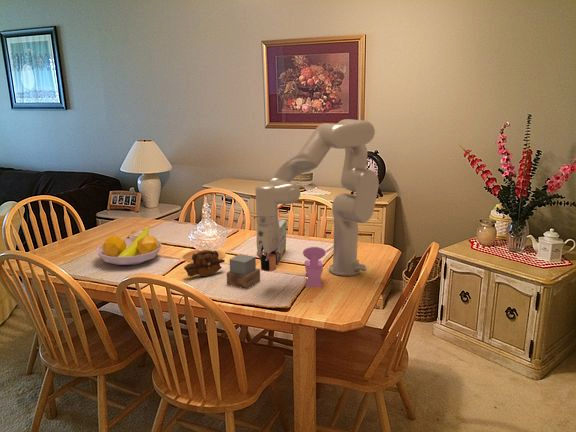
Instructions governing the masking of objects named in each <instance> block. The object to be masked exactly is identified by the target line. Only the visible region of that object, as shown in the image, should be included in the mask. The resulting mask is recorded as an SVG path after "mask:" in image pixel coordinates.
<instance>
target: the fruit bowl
mask: <svg viewBox="0 0 576 432" xmlns="http://www.w3.org/2000/svg"><path fill="white" fill-rule="evenodd" d="M149 229H150V225H147V226H146V227H145V229H144V230H143V231H141V232H140V234H139V235H138V236H137V237H131V238H130V237H129V238H127V237H126V238H123V239H122V238H121V237H120V236H118V235H116V234H113V235H110V236H108V237H107V239H105V241H104V242H103V244H102V245H99V246H97V247H96V254H97V256H99V257H100V258H101V260H103V261H104V262H105V263H109V264H112V265H117V266H122V265H123V266H125V265H127V266H128V265H130V266H131V265H132V266H133V265H136V266H137V265H140V264H143V263H145V262H147V261H150V260H151V259H154V258H156V256H157V254H159V252H160V250H161V249H162V243H161V241H160V240H158V238H157V237H155V236H154V235H149V233H150V232H149Z"/></svg>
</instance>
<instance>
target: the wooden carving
mask: <svg viewBox="0 0 576 432" xmlns="http://www.w3.org/2000/svg"><path fill="white" fill-rule="evenodd" d="M219 256H220V255H219V252H218V251H217V250H210V249H209V250H208V249H203V250H200V251H197V252H196V253H192V256H191V260H192V261H193V262H192V263H187V264H186V265H185V266H183V269H184V270H185V271H186V273H187V276H188V277H190V278H191V277H192V278H193V277H195V276H196V275H198V276H199V277H207V276H211V275H214V274H216V273H217V272H219V270H221V269H222V266H221V264H223V263H225V259H223V258H219Z"/></svg>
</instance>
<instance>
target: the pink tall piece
mask: <svg viewBox="0 0 576 432" xmlns="http://www.w3.org/2000/svg"><path fill="white" fill-rule="evenodd" d="M302 255H303V256H304V258H305V259H307V260H304V268H305V276H304V278H305V277H308V279H307V281H306V285H305V287H306V288H322V287H323V284H322V281H321V278H322V277H321V275H322V274H323V270H324V269H323V268H324V267H323V263H322V260H321V259H322V258H324V257H325V256H326V250H325V249H324V248H323V247H318V246H310V247H307V248H304V249H303V250H302Z"/></svg>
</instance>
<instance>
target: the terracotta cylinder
mask: <svg viewBox="0 0 576 432" xmlns="http://www.w3.org/2000/svg"><path fill="white" fill-rule="evenodd" d="M263 255H266V254H264V253H263ZM268 260H269V271H268V272H274V271H276V270H277V265H276V255H275V254H271V253H269V255H268ZM263 271H264V272H266V271H265V270H263Z"/></svg>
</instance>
